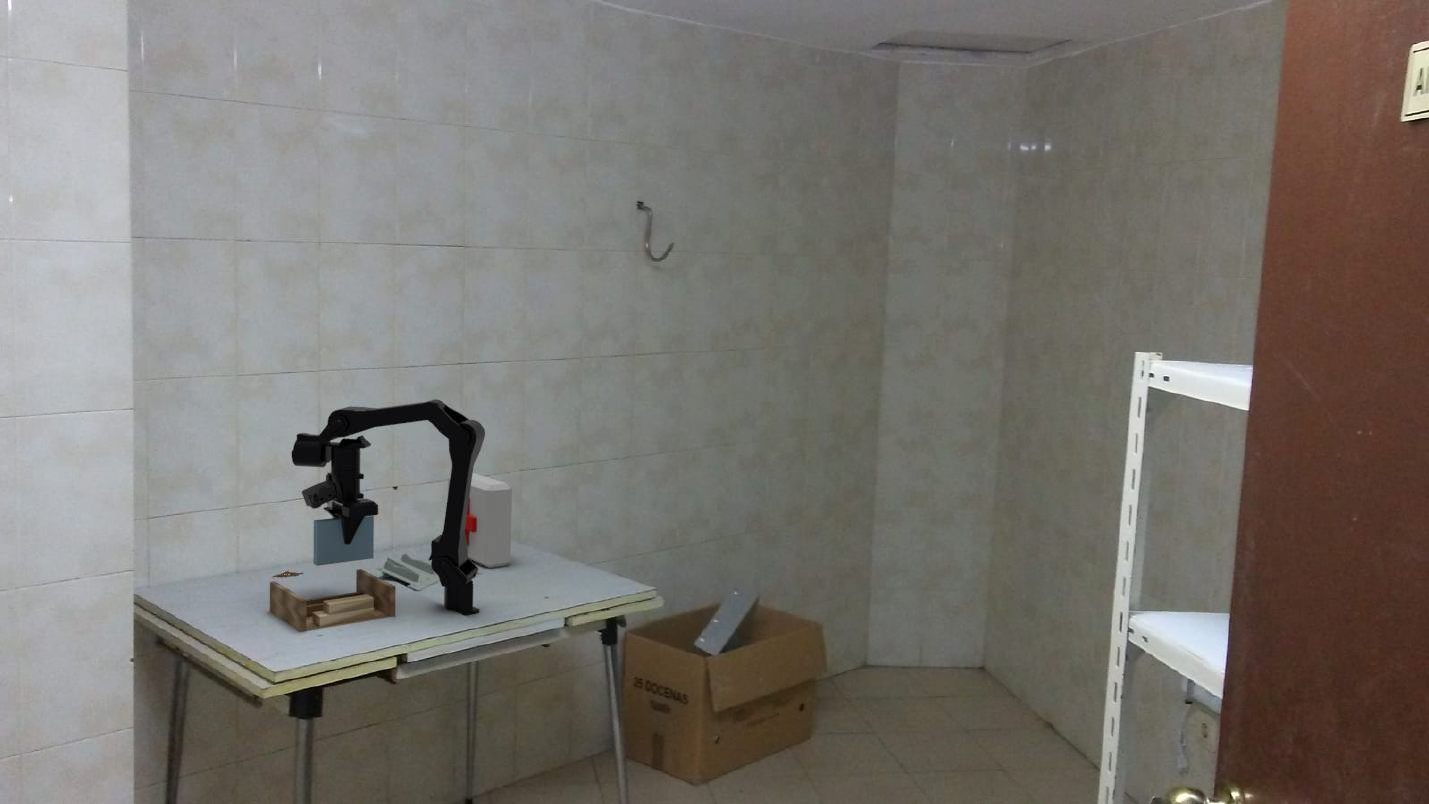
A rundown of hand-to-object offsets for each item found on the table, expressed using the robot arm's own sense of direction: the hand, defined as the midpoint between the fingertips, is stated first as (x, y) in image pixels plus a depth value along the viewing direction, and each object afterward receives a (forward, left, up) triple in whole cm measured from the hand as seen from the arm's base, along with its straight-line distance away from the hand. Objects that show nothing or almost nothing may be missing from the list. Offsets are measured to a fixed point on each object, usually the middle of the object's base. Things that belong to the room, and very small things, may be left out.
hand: (345, 543), depth 242 cm
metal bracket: (+10, -20, -14) cm, 26 cm away
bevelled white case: (+20, -42, -13) cm, 48 cm away
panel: (0, 0, -4) cm, 4 cm away
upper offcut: (-13, +5, -10) cm, 17 cm away
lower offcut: (-13, +6, -12) cm, 19 cm away
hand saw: (+25, +9, -14) cm, 29 cm away
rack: (-8, +6, -13) cm, 16 cm away
